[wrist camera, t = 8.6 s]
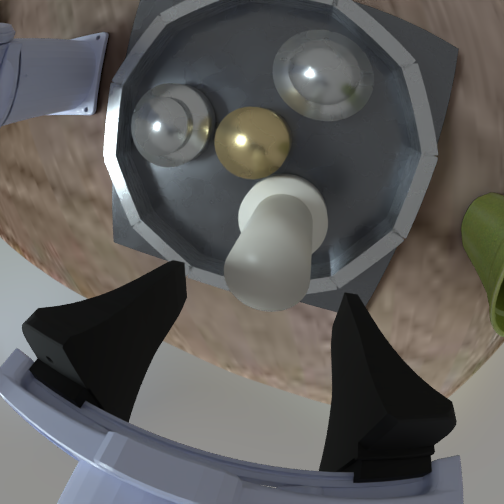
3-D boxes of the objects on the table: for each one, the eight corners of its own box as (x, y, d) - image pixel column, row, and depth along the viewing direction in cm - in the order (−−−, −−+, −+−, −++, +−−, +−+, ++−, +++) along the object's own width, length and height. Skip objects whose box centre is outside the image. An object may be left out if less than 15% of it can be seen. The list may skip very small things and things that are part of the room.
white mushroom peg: (228, 218, 20) (183, 278, 14) (277, 155, 17) (251, 187, 11) (290, 266, 21) (275, 342, 14) (344, 211, 18) (359, 275, 11)
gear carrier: (119, 237, 25) (98, 254, 22) (150, -9, 13) (126, -20, 10) (357, 310, 23) (361, 338, 20) (452, 51, 11) (474, 43, 8)
